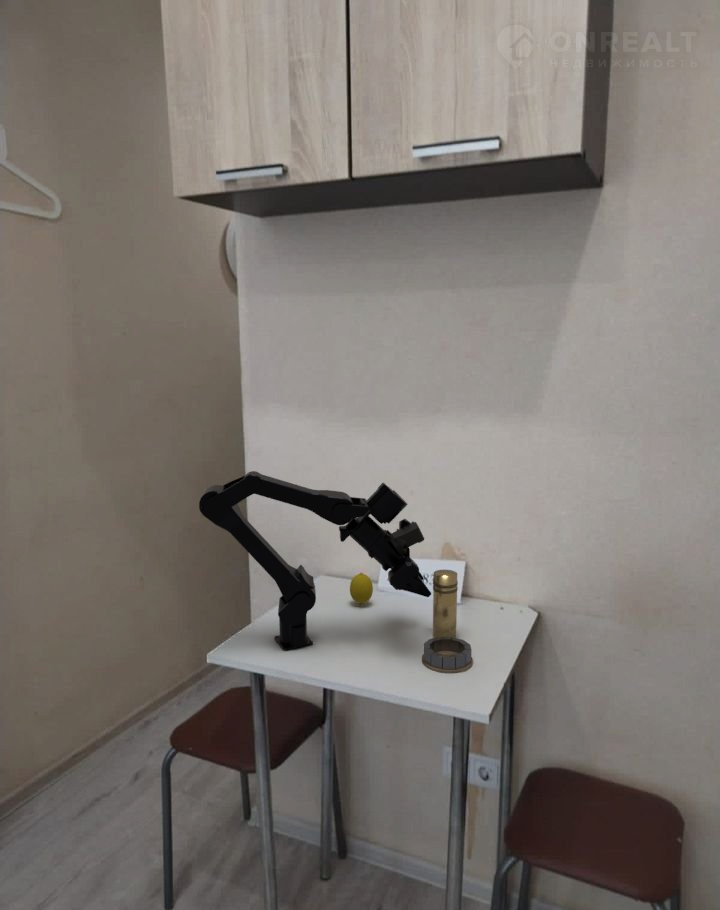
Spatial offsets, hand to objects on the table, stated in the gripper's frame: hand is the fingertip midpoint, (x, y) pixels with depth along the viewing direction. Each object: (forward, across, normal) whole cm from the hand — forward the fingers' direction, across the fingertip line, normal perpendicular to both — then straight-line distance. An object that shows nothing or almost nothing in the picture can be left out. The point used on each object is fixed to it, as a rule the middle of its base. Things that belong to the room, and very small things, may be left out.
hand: (425, 587), depth 141 cm
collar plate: (+9, -12, +6) cm, 16 cm away
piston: (+11, 0, +5) cm, 12 cm away
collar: (+9, -12, +6) cm, 16 cm away
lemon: (-1, +19, +17) cm, 25 cm away
